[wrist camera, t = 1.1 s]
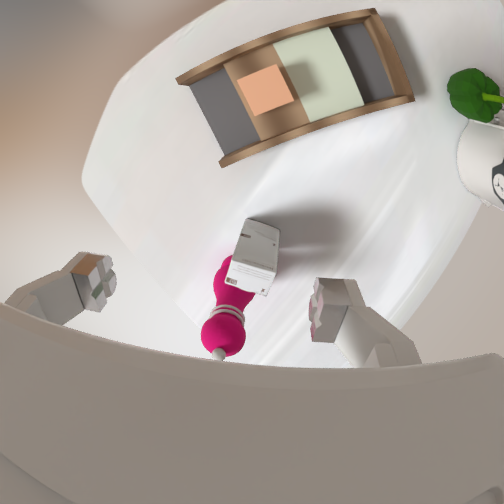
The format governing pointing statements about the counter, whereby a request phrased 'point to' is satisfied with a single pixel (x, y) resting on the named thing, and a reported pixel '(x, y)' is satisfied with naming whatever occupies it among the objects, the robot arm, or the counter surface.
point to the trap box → (301, 81)
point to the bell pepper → (475, 95)
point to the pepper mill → (226, 317)
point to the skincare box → (254, 258)
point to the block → (265, 90)
